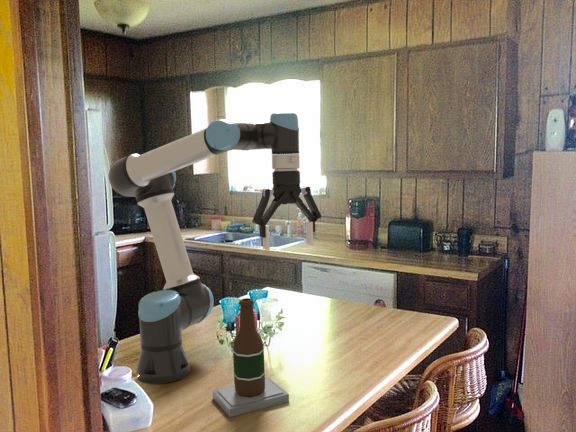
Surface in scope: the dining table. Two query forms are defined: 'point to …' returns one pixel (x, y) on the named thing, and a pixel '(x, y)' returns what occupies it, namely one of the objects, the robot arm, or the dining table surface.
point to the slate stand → (249, 399)
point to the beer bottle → (248, 354)
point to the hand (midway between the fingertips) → (288, 246)
